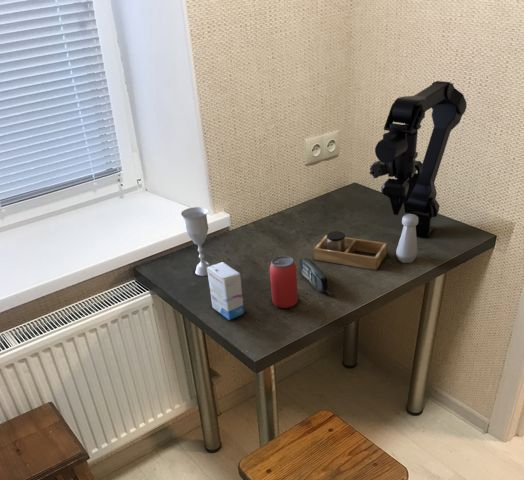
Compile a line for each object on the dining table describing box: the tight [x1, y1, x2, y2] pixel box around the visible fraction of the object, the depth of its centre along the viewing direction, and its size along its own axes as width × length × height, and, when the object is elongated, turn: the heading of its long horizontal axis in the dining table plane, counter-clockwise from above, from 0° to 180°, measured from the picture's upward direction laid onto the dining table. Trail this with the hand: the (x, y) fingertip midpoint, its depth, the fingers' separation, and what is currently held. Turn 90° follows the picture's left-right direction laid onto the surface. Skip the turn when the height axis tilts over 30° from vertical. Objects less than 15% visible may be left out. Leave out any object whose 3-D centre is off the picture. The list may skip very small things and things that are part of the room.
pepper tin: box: [326, 230, 346, 252], centre depth 162 cm, size 5×5×6 cm
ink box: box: [207, 261, 245, 321], centre depth 141 cm, size 9×5×12 cm, turn 35°
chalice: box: [180, 206, 211, 277], centre depth 156 cm, size 7×7×18 cm
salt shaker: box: [395, 213, 419, 264], centre depth 154 cm, size 6×6×13 cm
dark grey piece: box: [299, 257, 332, 296], centre depth 150 cm, size 5×3×15 cm
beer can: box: [269, 255, 299, 309], centre depth 142 cm, size 7×7×12 cm
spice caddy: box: [313, 233, 388, 271], centre depth 161 cm, size 10×18×4 cm, turn 63°
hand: (400, 207), depth 155 cm, fingers open, 9 cm apart
